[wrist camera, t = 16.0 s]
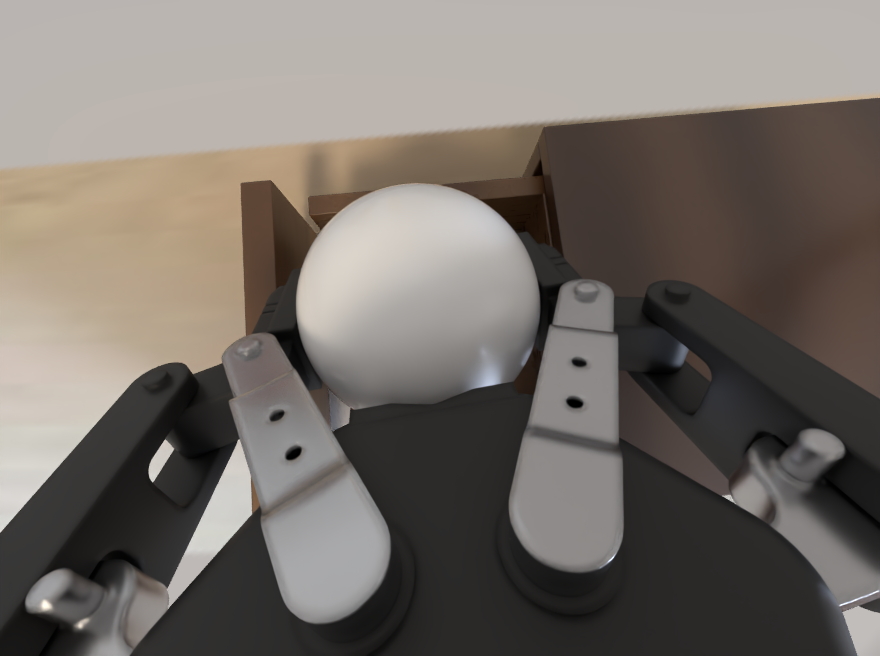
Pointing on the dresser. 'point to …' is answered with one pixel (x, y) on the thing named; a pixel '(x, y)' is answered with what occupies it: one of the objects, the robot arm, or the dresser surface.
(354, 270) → the lightbulb
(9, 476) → the dresser surface
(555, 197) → the cabinet
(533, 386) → the drawer
